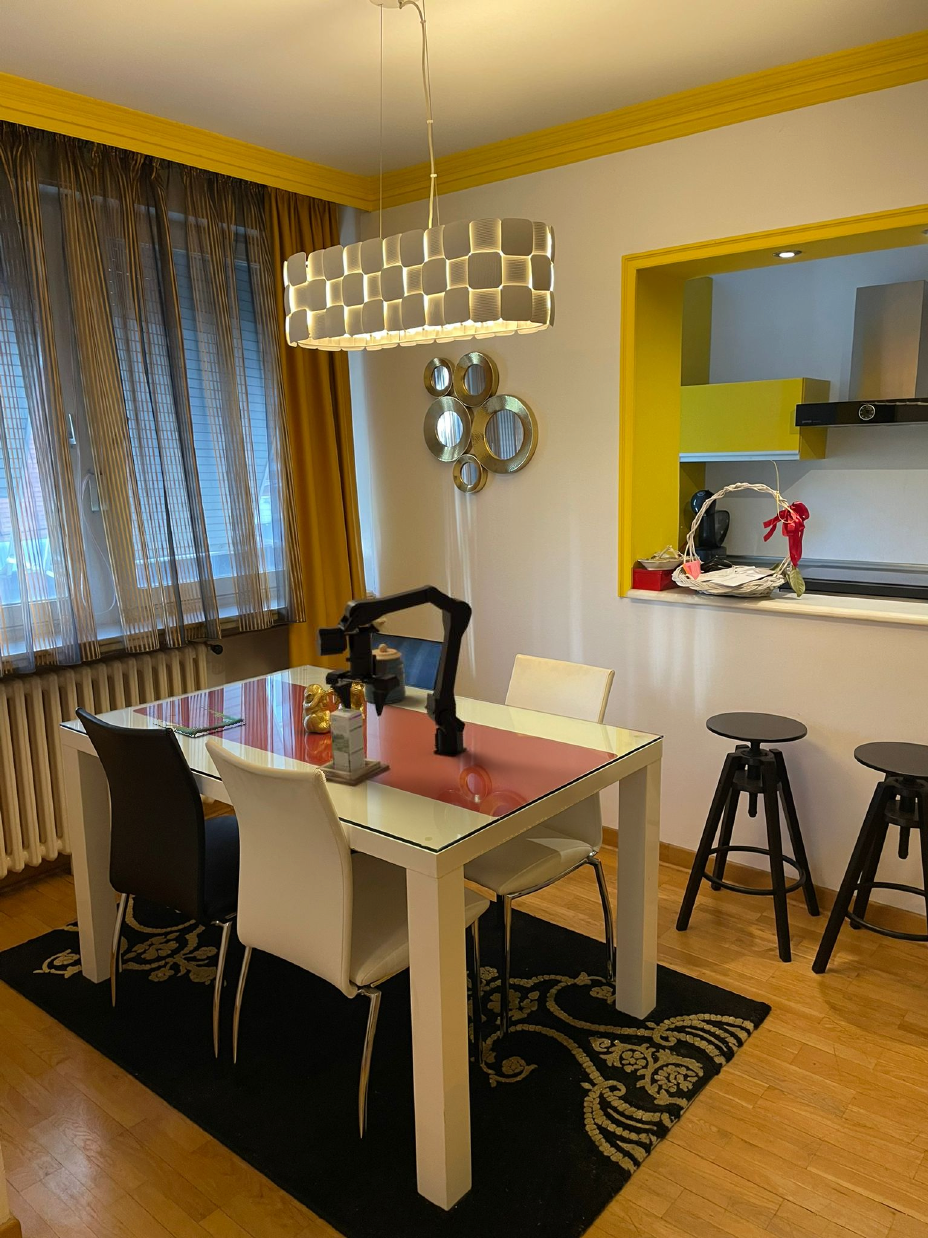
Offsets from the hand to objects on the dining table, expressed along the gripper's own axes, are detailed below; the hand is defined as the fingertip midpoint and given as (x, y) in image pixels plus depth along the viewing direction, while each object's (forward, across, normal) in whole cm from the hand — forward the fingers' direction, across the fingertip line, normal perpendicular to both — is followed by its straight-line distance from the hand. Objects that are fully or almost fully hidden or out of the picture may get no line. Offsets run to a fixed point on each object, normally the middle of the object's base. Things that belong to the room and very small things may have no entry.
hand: (364, 713), depth 225 cm
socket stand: (+13, 0, +7) cm, 15 cm away
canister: (+13, +32, -53) cm, 63 cm away
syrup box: (+12, 0, +7) cm, 14 cm away
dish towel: (+14, +66, -7) cm, 68 cm away
